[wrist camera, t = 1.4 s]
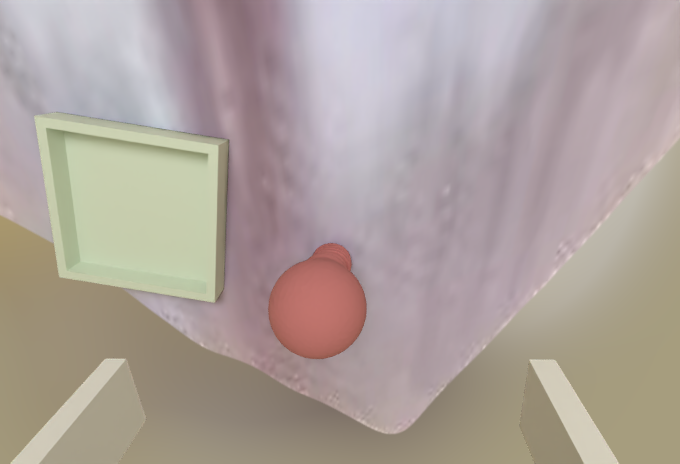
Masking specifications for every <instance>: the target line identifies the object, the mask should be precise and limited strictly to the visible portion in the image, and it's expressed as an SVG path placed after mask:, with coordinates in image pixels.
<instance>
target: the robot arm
mask: <svg viewBox="0 0 680 464" xmlns="http://www.w3.org/2000/svg"><path fill="white" fill-rule="evenodd" d="M145 421H146V417H145V413H144V411H143V408H142V404H141V401H140V398H139V396H138V392H137V389H136V386H135V383H134V380H133V377H132V374H131V371H130V368H129V365H128V362H127V359H105V360H104V361H103V362H102V363H101V364H100V365H99V366H98V367H97V369H96V370H95V371H94V372H93V373H92V374H91V375H90V376H89V377H88V378H87V379H86V380H85V382H84V383H83V384H82V385H81V386H80V387H79V388H78V389H77V390H76V392H75V393H74V394H73V395H72V396H71V397H70V398H69V399H68V400H67V401H66V403H65V404H64V405H63V406H62V407H61V408H60V409H59V410H58V411H57V413H56V414H55V415H54V416H53V417H52V418H51V419H50V420H49V421H48V422H47V424H46V425H45V426H44V427H43V428H42V429H41V430H40V431H39V432H38V433H37V435H36V436H35V437H34V438H33V439H32V440H31V441H30V442H29V443H28V445H27V446H26V447H25V448H24V449H23V450H22V451H21V452H20V453H19V454H18V456H17V457H16V458H15V459H14V460H13V461H12V462H11V463H10V464H118V463H119V462H120V460H121V459H122V457H123V455H124V454H125V452H126V451H127V449H128V447H129V446H130V444H131V443H132V441H133V440H134V438H135V437H136V435H137V433H138V432H139V430H140V429H141V427H142V426H143V424H144V422H145ZM519 426H520V429H521V431H522V434H523V436H524V439H525V441H526V444H527V446H528V448H529V451H530V453H531V456H532V458H533V461H534V463H535V464H619V463H618V461H617V460H616V458H615V456H614V455H613V453H612V451H611V450H610V448H609V447H608V445H607V443H606V442H605V440H604V438H603V437H602V435H601V434H600V432H599V430H598V429H597V427H596V426H595V424H594V422H593V420H592V419H591V417H590V416H589V414H588V412H587V411H586V409H585V408H584V406H583V404H582V403H581V401H580V399H579V398H578V396H577V395H576V393H575V391H574V390H573V388H572V387H571V385H570V383H569V382H568V380H567V378H566V377H565V375H564V373H563V372H562V370H561V369H560V367H559V365H558V364H557V362H556V361H555V360H529V364H528V371H527V378H526V384H525V391H524V398H523V404H522V411H521V418H520V424H519Z"/></svg>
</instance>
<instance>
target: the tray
mask: <svg viewBox="0 0 680 464" xmlns="http://www.w3.org/2000/svg"><path fill="white" fill-rule="evenodd" d="M34 118H35V124H36V131H37V137H38V143H39V150H40V156H41V163H42V169H43V176H44V182H45V189H46V195H47V201H48V208H49V214H50V221H51V227H52V234H53V240H54V247H55V253H56V259H57V266H58V271H59V277H61V278H68V279H74V280H80V281H86V282H93V283H98V284H104V285H111V286H116V287H122V288H129V289H135V290H141V291H147V292H153V293H159V294H165V295H171V296H177V297H184V298H190V299H196V300H202V301H208V302H214V303H215V301H216V300H217V298H218V297H219V295H220V294H221V292H222V291H223V289H224V270H225V241H226V211H227V182H228V152H229V140H228V139H222V138H215V137H209V136H203V135H197V134H190V133H184V132H178V131H172V130H165V129H159V128H153V127H147V126H141V125H134V124H128V123H122V122H116V121H109V120H103V119H97V118H91V117H84V116H78V115H72V114H66V113H60V112H55V113H49V114H42V115H36V116H34Z"/></svg>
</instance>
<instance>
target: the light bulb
mask: <svg viewBox="0 0 680 464" xmlns="http://www.w3.org/2000/svg"><path fill="white" fill-rule="evenodd" d="M351 265H352V264H351V258H350V254H349V253H348V251H347V250H346V249H345V248H344V247H342V246H341V245H338V244H335V243H328V244H324V245H322V246H320V247H319V248H317V249H316V251H315V252H314V254H313V256H312V257H310V258H309V259H308V260H306V261H303V262H300V263H298V264H296V265H294V266H292V267H291V268H289V269H288V270H287V271H285V272H284V273H283V274H282V275H281V277H280V278H279V279H278V281H277V282H276V284H275V286H274V287H273V290H272V292H271V295H270V299H269V308H268V312H269V320H270V323H271V327H272V329H273V331H274V333H275V335H276V337H277V338H278V340H279V341H280V342H281V343H282V344H283V345H284V346H285V347H286V348H287V349H289V350H290V351H291V352H293V353H295V354H297V355H299V356H302V357H305V358H310V359H324V358H328V357H332V356H335V355H337V354H339V353H341V352H343V351H344V350H346V349H347V348H348V347H349V346H350V345H352V344H353V342H354V341H355V340H356V339H357V337H358V336H359V334H360V332H361V331H362V328H363V326H364V322H365V319H366V299H365V295H364V291H363V289H362V287H361V285H360V283H359V281H358V280H357V278H356V277H355V276H354V275H353V274H352V273H351V272H350V270H351Z"/></svg>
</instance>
